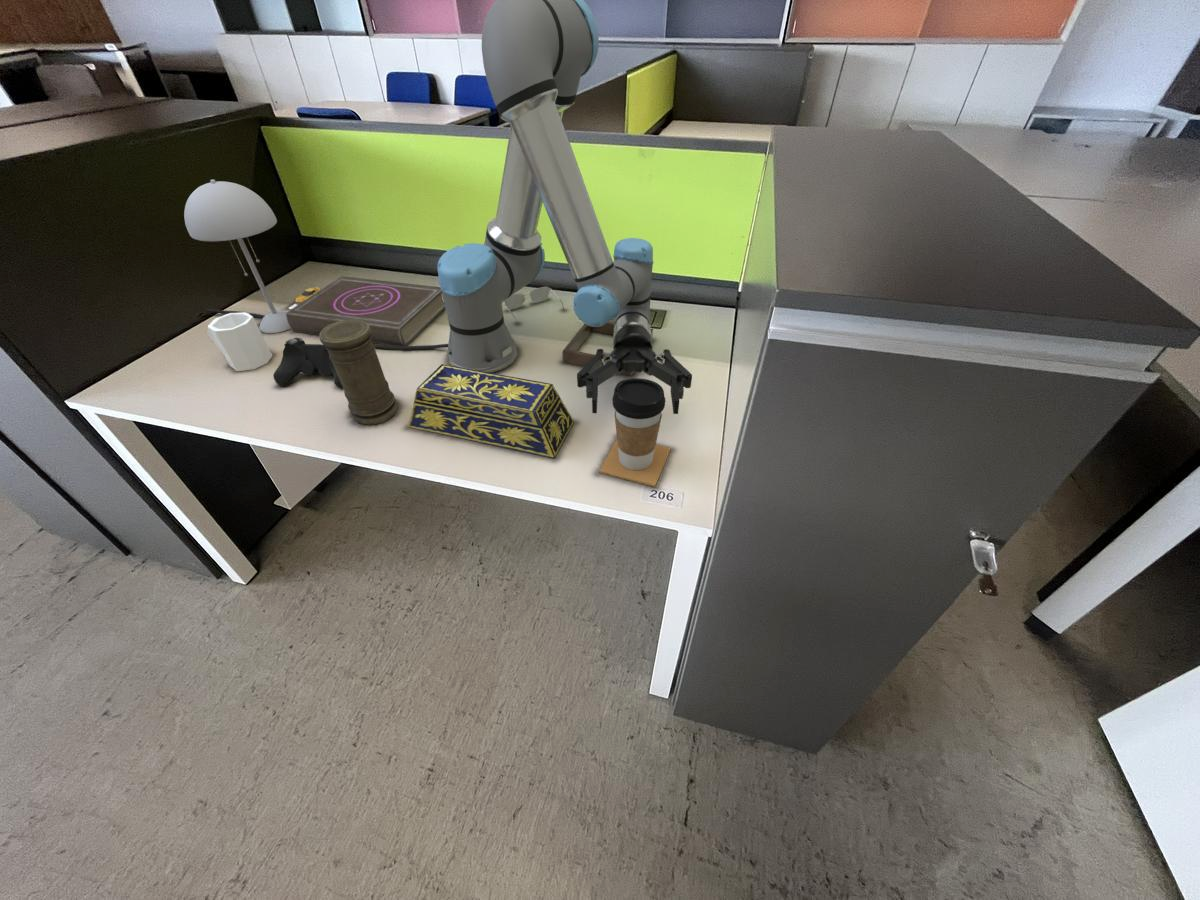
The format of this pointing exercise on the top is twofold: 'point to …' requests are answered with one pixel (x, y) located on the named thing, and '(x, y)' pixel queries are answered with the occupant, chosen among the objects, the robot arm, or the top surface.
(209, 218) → the lamp
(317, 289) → the toy car
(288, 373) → the game controller
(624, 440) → the coffee cup
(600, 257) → the robot arm
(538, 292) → the eyeglasses
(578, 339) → the wooden square frame
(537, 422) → the decorative box
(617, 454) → the coaster
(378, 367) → the container
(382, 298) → the book
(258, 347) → the mug
